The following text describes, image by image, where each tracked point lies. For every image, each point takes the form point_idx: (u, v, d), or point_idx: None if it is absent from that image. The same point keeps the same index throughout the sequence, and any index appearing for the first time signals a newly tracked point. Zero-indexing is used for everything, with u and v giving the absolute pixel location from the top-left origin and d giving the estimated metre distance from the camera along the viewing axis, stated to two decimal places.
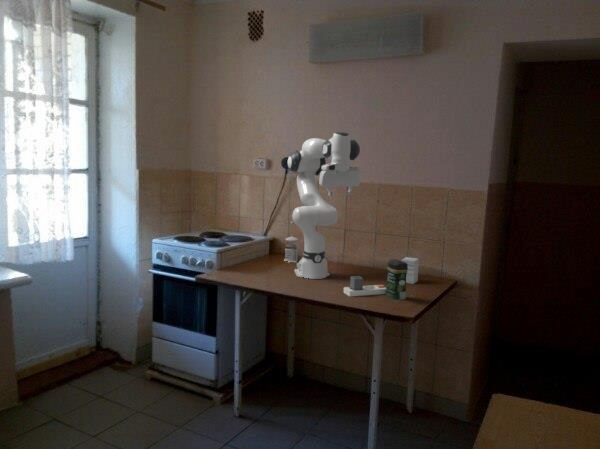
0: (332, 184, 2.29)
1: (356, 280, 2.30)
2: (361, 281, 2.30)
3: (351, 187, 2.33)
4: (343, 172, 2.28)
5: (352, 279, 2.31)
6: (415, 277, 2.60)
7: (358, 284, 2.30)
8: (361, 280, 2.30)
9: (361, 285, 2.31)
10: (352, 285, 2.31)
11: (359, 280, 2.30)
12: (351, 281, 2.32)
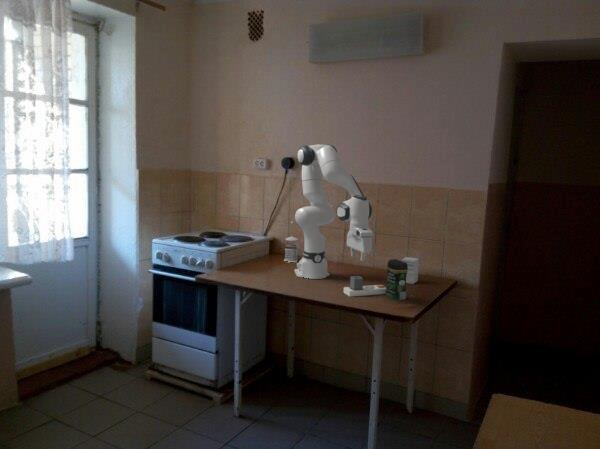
0: None
1: (356, 280, 2.30)
2: (361, 281, 2.30)
3: None
4: None
5: (352, 279, 2.31)
6: (415, 277, 2.60)
7: (358, 284, 2.30)
8: (361, 280, 2.30)
9: (361, 285, 2.31)
10: (352, 285, 2.31)
11: (359, 280, 2.30)
12: (351, 281, 2.32)
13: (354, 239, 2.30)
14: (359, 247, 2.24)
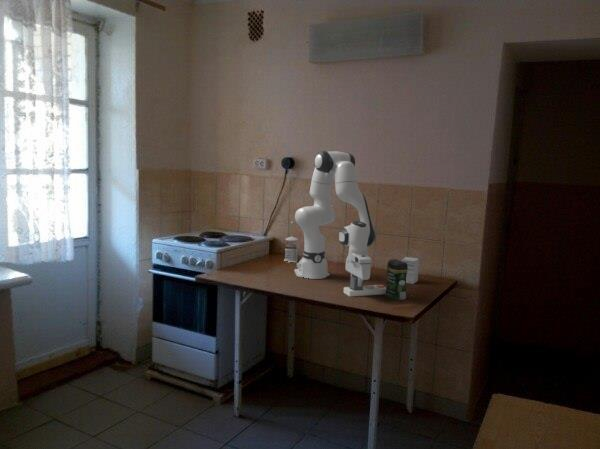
0: None
1: (356, 280, 2.30)
2: None
3: None
4: None
5: (352, 279, 2.31)
6: (415, 277, 2.60)
7: None
8: None
9: None
10: (352, 285, 2.31)
11: None
12: (351, 281, 2.32)
13: (353, 264, 2.32)
14: (358, 273, 2.26)
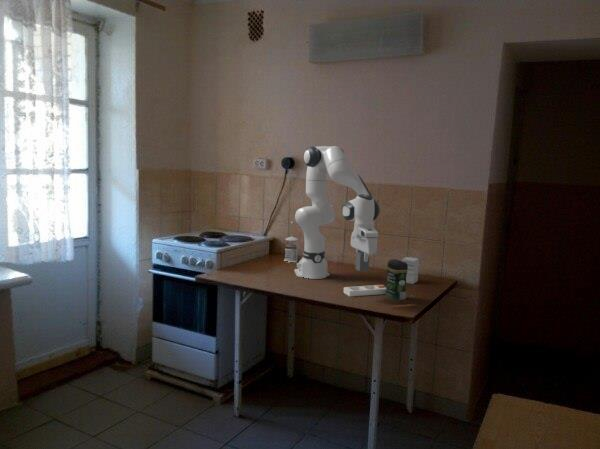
0: None
1: (362, 255, 2.21)
2: None
3: None
4: None
5: (358, 255, 2.22)
6: (415, 277, 2.60)
7: None
8: None
9: (367, 261, 2.22)
10: (358, 261, 2.23)
11: None
12: (357, 257, 2.24)
13: (358, 240, 2.23)
14: (364, 248, 2.17)
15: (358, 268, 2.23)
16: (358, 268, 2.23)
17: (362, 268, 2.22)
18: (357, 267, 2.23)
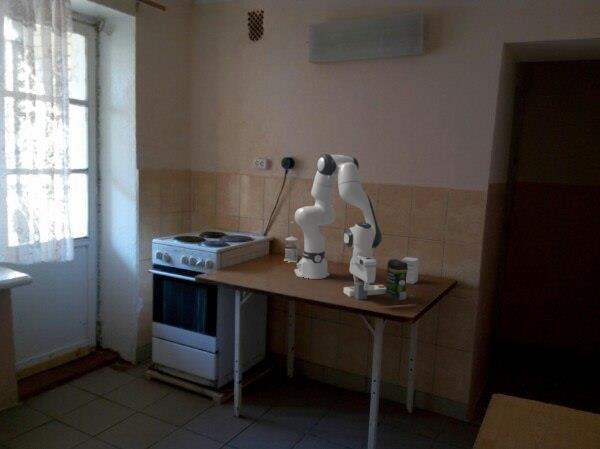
0: None
1: (360, 286, 2.23)
2: None
3: None
4: None
5: (356, 285, 2.25)
6: (415, 277, 2.60)
7: (362, 290, 2.24)
8: None
9: (366, 291, 2.24)
10: (356, 291, 2.25)
11: None
12: (355, 287, 2.26)
13: (357, 267, 2.25)
14: (362, 276, 2.19)
15: (356, 298, 2.25)
16: None
17: (360, 298, 2.24)
18: (355, 297, 2.26)
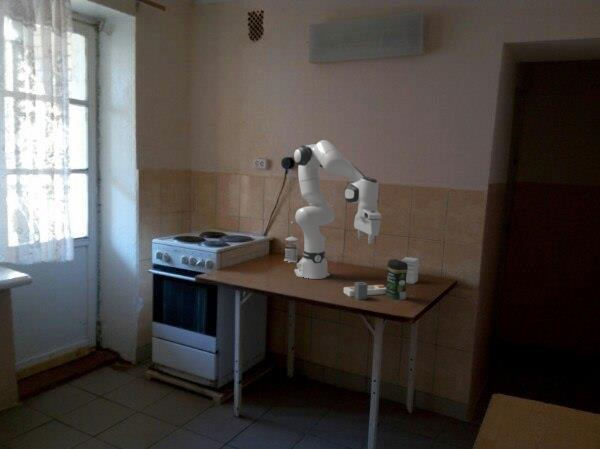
0: None
1: (360, 286, 2.23)
2: (366, 287, 2.24)
3: None
4: None
5: (356, 285, 2.25)
6: (415, 277, 2.60)
7: (362, 290, 2.24)
8: (366, 286, 2.24)
9: (366, 291, 2.24)
10: (356, 291, 2.25)
11: (363, 286, 2.23)
12: (355, 287, 2.26)
13: (362, 221, 2.29)
14: (367, 229, 2.23)
15: (356, 298, 2.25)
16: None
17: (360, 298, 2.24)
18: (355, 297, 2.26)
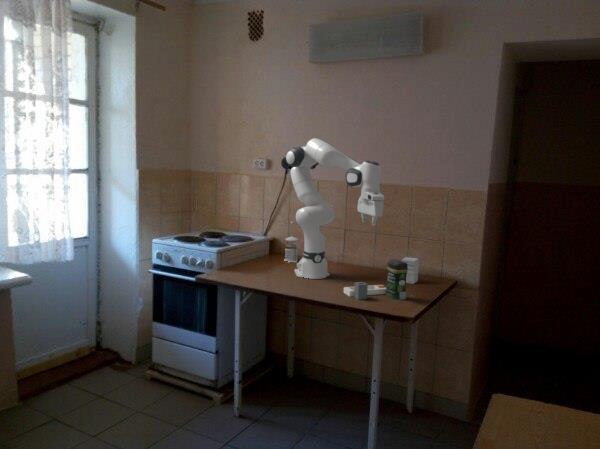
0: None
1: (360, 286, 2.23)
2: (366, 287, 2.24)
3: None
4: None
5: (356, 285, 2.25)
6: (415, 277, 2.60)
7: (362, 290, 2.24)
8: (366, 286, 2.24)
9: (366, 291, 2.24)
10: (356, 291, 2.25)
11: (363, 286, 2.23)
12: (355, 287, 2.26)
13: (365, 204, 2.34)
14: (370, 211, 2.28)
15: (356, 298, 2.25)
16: None
17: (360, 298, 2.24)
18: (355, 297, 2.26)
